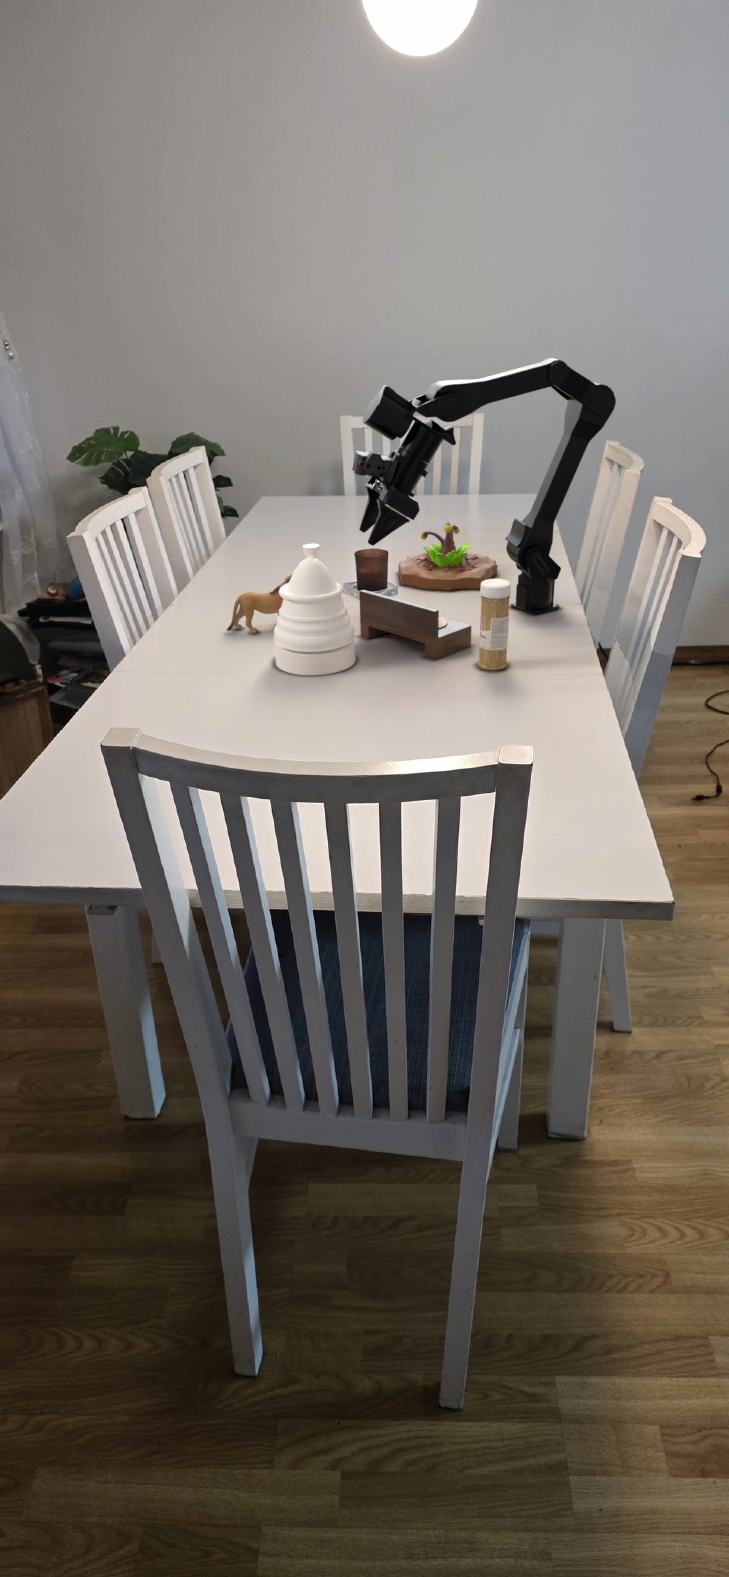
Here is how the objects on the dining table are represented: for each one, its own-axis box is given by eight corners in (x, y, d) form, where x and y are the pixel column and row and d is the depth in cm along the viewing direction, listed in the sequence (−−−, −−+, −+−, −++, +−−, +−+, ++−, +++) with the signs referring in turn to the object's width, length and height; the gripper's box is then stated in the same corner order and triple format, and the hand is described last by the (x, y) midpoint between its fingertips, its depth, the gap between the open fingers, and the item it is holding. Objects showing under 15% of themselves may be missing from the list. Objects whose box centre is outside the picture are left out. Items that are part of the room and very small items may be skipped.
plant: (390, 589, 193) (389, 531, 188) (404, 562, 210) (403, 509, 205) (493, 592, 190) (496, 533, 184) (499, 564, 207) (501, 510, 201)
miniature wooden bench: (397, 624, 174) (396, 579, 171) (471, 645, 163) (472, 598, 160) (360, 636, 169) (359, 590, 165) (434, 660, 158) (434, 611, 154)
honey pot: (280, 647, 165) (272, 539, 157) (357, 646, 165) (354, 538, 156) (271, 675, 154) (262, 561, 145) (353, 674, 153) (350, 559, 145)
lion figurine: (303, 618, 178) (300, 569, 174) (312, 627, 174) (309, 577, 170) (223, 629, 174) (218, 579, 170) (230, 638, 170) (225, 587, 165)
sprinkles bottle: (474, 662, 157) (476, 579, 150) (502, 660, 157) (505, 576, 151) (482, 672, 153) (485, 587, 146) (511, 670, 153) (515, 585, 147)
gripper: (364, 421, 169) (318, 502, 174) (383, 438, 153) (332, 527, 158) (418, 455, 173) (372, 533, 178) (441, 475, 157) (390, 560, 162)
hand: (365, 537), depth 169 cm, fingers open, 9 cm apart
